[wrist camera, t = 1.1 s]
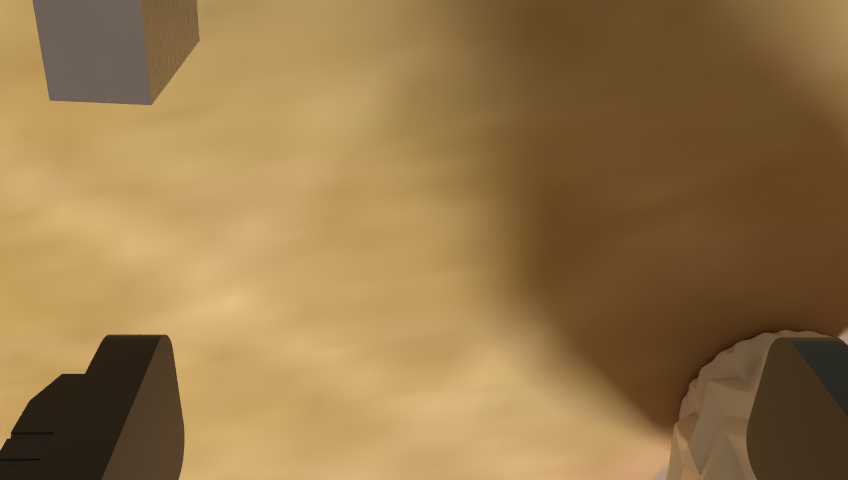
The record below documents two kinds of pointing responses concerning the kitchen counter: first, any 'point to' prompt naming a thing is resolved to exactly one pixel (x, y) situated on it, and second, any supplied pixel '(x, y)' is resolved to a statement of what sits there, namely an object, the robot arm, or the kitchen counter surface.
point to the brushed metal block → (114, 47)
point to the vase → (721, 413)
